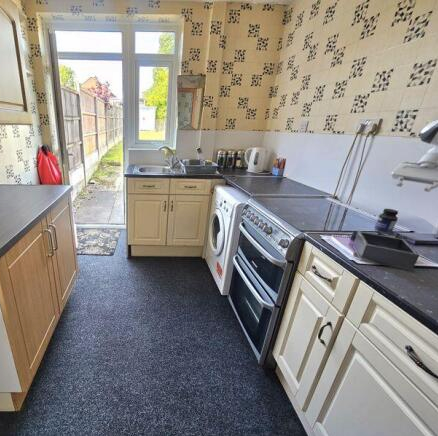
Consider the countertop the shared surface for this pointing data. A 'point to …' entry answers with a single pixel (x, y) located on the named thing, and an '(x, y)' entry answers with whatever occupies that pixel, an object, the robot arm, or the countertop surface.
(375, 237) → the dark grey square box
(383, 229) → the pill bottle
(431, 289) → the countertop surface
